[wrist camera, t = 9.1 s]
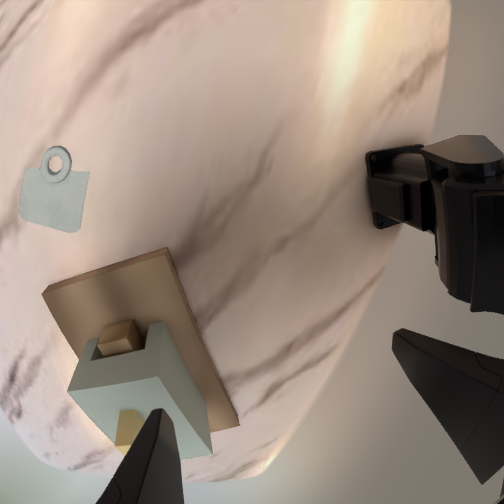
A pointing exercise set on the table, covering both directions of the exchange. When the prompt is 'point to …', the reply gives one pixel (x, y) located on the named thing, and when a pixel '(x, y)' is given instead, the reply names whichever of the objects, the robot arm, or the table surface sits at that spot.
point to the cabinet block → (142, 393)
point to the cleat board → (138, 320)
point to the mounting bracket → (54, 193)
